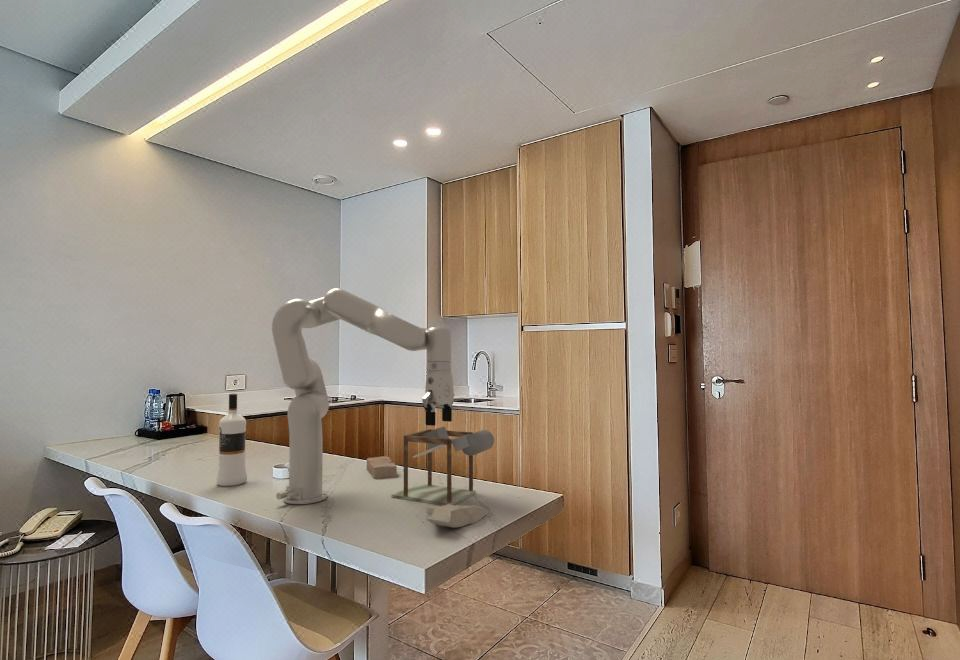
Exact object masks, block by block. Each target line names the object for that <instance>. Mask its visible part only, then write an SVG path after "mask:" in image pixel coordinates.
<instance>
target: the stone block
mask: <svg viewBox="0 0 960 660" xmlns="http://www.w3.org/2000/svg"><path fill="white" fill-rule="evenodd" d="M446 430H447V429H446V426H442V427H441V426H440V427H437V428H434V430H432V431H430V432H428V433H425V434H424V437H431V438H443V439H450V436H448V434H447V431H446ZM426 445H427V446H426V447H427V449H428V448H429V449H431V448H434V447H436V446H439V445H441V444H431V443H426Z"/></svg>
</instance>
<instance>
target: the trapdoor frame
mask: <svg viewBox="0 0 960 660" xmlns="http://www.w3.org/2000/svg"><path fill="white" fill-rule="evenodd" d="M432 430H435V428H434V429H431V428H427V429H425V430H420V431H416V432H413V433H410V434H409V433H408V434H405V435H403V489H401V490H398V491H397V492H394V493H392V494H390V496H391V498H393V499H400V500H406V501H414V502H419V503H420V502H421V503H426V504H434V505H438V506H444V505H447V504H451V505H458V504H459V503H460V502H462V501H464V500H466V499H467V498H470V497H471V496H473V495H475V494H476V490H474V455H473V456H468V489H465V488H457V487H452V444H451V439H452V438H449V439H443V438H431V437H424V434H425V433H428V432H430V431H432ZM446 431H447V434H448V437H454V438H458V437H461V436H464V435H467V434H472V433H474V432H472V431H462V430H461V431H459V430H458V431H457V430H449V429H448V430H447V429H446ZM409 442H410V443H422V444H427V443H431V444H442V445H447V446H446V486H441V485H435V484H432V483H433V482H432V481H433V473H432V472H433V470H432V469H433V468H432V466H433V460H432V459H433V455H432V454H433V452H430V453H427V483H419V482H418V483H416V484H414V485H411V486H409ZM427 450H429V448H428V447H427Z"/></svg>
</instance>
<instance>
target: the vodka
mask: <svg viewBox="0 0 960 660" xmlns="http://www.w3.org/2000/svg"><path fill="white" fill-rule="evenodd" d="M218 426H219V429H218V430H219V432H218V433H219V435H218V438H219V439H218V441H219V443H218V470H217V471H218V472H217V476H216V484H217V485H218V486H220V487H235V486H240V485H243V484H244V483H246V482H247V480H248V474H247V468H246V454H247V452H246V431H247V420H246V418H245V417H244V416H243V415H241V414H239V413H238V394H237V393H229V394H228V414H227V413H226V415H225V416H223V417H222V418H221V419H219V422H218Z"/></svg>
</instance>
